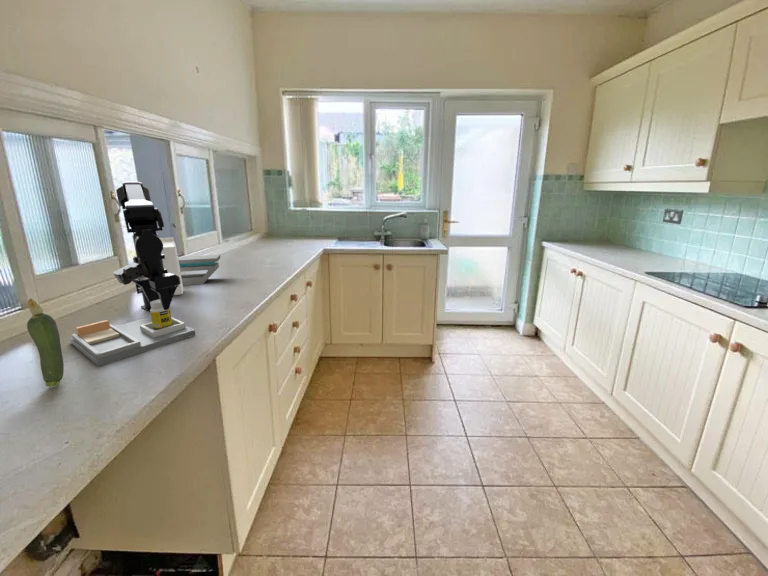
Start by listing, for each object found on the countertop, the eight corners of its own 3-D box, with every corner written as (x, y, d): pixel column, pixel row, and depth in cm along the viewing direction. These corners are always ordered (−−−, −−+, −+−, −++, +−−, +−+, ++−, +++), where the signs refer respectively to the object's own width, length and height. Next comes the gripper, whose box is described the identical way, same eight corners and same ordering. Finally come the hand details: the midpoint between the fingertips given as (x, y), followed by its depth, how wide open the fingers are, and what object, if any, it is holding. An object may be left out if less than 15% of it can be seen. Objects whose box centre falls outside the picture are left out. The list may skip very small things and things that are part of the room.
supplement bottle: (164, 332, 101) (158, 304, 99) (149, 331, 102) (143, 303, 100) (176, 326, 105) (171, 299, 103) (163, 325, 106) (157, 298, 104)
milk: (182, 294, 141) (173, 238, 135) (164, 296, 139) (154, 239, 133) (183, 290, 147) (174, 236, 140) (166, 292, 144) (156, 237, 138)
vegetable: (56, 379, 80) (31, 293, 74) (77, 378, 80) (54, 293, 75) (40, 390, 76) (12, 300, 70) (62, 389, 76) (36, 299, 70)
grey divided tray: (71, 343, 98) (68, 333, 97) (161, 318, 116) (159, 309, 115) (98, 366, 86) (95, 355, 85) (195, 334, 103) (193, 325, 102)
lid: (78, 337, 98) (76, 327, 97) (109, 329, 103) (106, 319, 102) (88, 345, 93) (85, 334, 92) (119, 336, 99) (117, 326, 98)
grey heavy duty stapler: (156, 286, 152) (151, 261, 149) (162, 281, 160) (158, 257, 157) (219, 282, 158) (216, 258, 155) (223, 278, 165) (220, 254, 162)
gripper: (100, 252, 96) (113, 307, 101) (127, 260, 86) (140, 322, 90) (146, 246, 105) (156, 297, 109) (176, 253, 94) (186, 310, 98)
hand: (159, 306), depth 102 cm, fingers open, 9 cm apart
